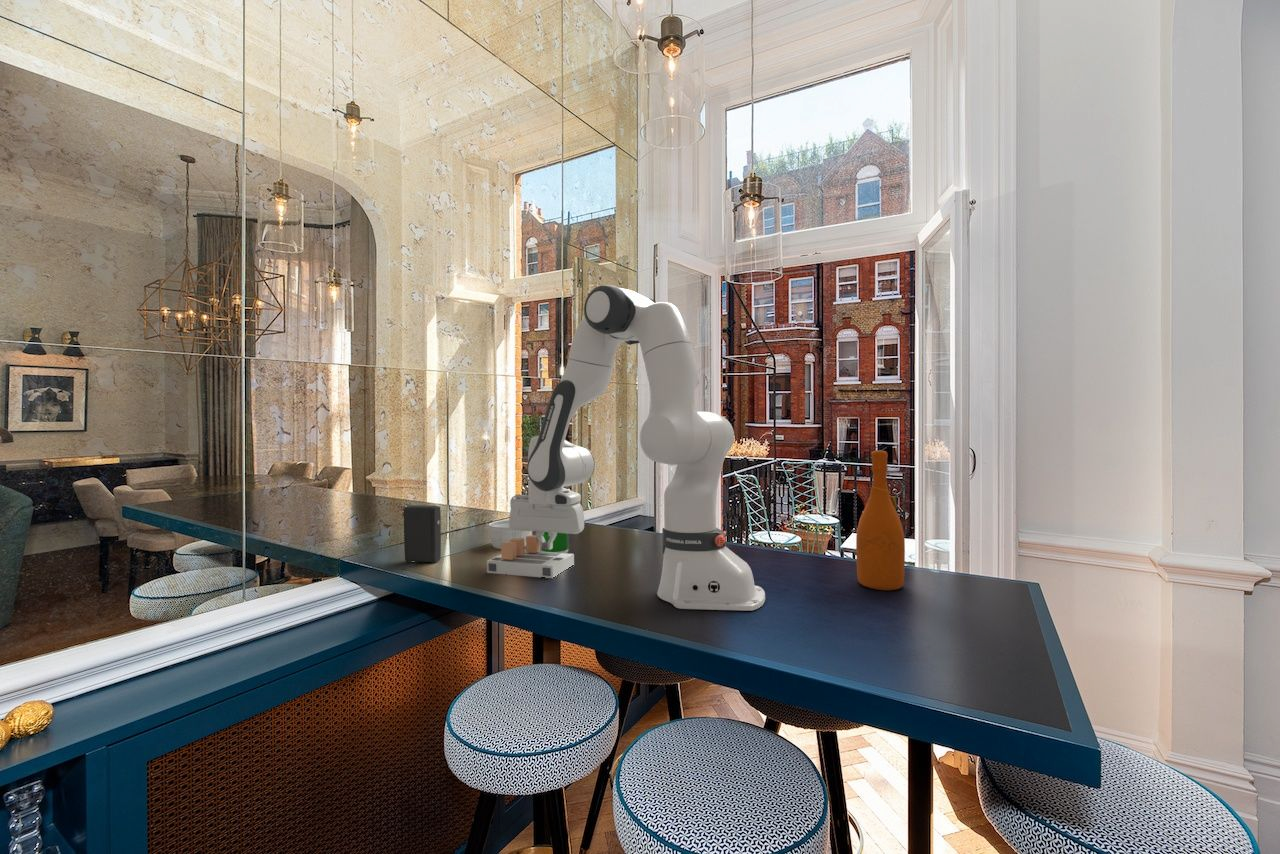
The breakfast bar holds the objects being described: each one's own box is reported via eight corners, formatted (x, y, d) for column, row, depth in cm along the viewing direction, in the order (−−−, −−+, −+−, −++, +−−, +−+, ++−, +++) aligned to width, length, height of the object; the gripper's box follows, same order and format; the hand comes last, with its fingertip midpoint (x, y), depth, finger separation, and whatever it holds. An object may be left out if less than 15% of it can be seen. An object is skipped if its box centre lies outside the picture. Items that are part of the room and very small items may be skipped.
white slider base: (574, 565, 140) (574, 553, 140) (552, 578, 128) (552, 565, 128) (512, 560, 145) (512, 549, 145) (486, 573, 134) (486, 560, 134)
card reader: (443, 560, 147) (442, 504, 147) (435, 564, 143) (434, 507, 143) (411, 559, 148) (411, 504, 148) (403, 563, 144) (402, 506, 144)
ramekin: (490, 542, 169) (490, 519, 169) (534, 540, 171) (533, 518, 171) (486, 552, 156) (486, 528, 156) (533, 549, 158) (533, 525, 158)
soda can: (571, 551, 155) (570, 509, 155) (564, 558, 147) (564, 514, 147) (545, 551, 156) (544, 509, 155) (537, 558, 148) (537, 514, 148)
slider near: (516, 557, 135) (516, 541, 135) (512, 559, 133) (511, 543, 133) (505, 557, 136) (505, 541, 136) (501, 559, 134) (501, 542, 134)
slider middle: (524, 554, 139) (524, 538, 138) (520, 555, 137) (520, 540, 137) (514, 553, 139) (514, 537, 139) (510, 555, 138) (509, 539, 137)
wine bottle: (908, 593, 114) (907, 451, 114) (857, 589, 117) (856, 451, 117) (901, 580, 123) (900, 449, 123) (855, 577, 127) (854, 449, 126)
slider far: (540, 551, 142) (540, 535, 142) (536, 552, 140) (536, 537, 140) (530, 550, 143) (529, 535, 142) (526, 552, 141) (526, 536, 141)
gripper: (503, 495, 140) (504, 549, 140) (576, 498, 134) (576, 554, 134) (516, 492, 146) (517, 543, 146) (586, 495, 140) (587, 548, 140)
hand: (546, 548), depth 140 cm, fingers closed
